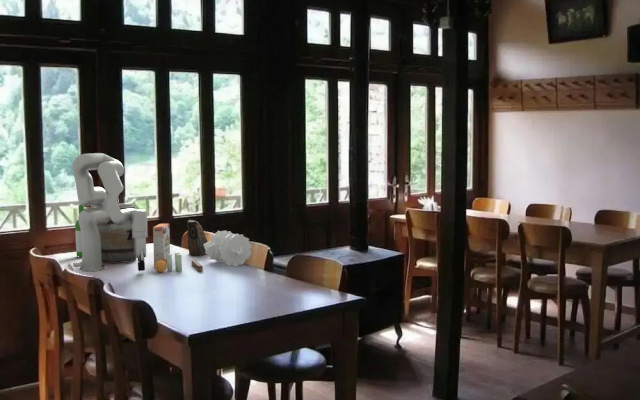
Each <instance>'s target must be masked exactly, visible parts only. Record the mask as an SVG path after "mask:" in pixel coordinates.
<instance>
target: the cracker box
mask: <svg viewBox="0 0 640 400" xmlns="http://www.w3.org/2000/svg"><path fill="white" fill-rule="evenodd" d="M170 231H171V230H170V223H159V224H157V225H155V226H152V237H153V240H152V241H153V265H154V267H155V263H156V262H157V261H159V260H162V261H164V262H165V263H166V265H167V254H171V243H170V242H171V239H170V234H171V233H170Z"/></svg>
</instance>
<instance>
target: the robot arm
mask: <svg viewBox="0 0 640 400" xmlns="http://www.w3.org/2000/svg"><path fill="white" fill-rule="evenodd" d="M71 169H72V174H73V177H74V182H75V187H76V194H77V200H78V203H79V205H80V204H81V205H82V206H84V207H91V206H93V207H94V208H92V207H91V208H87V209H84V210H83V211H82V212H81V213H80V214H79V213H78V216H77V217H78V218H77V220H78V221H79V225H80V230H81V242H82V258H81V259H82V260H81V261H79V262H73V264H72V266H73V267H74V268H79V271H80V270H82V271H81V272H98V271H97V270H99V271H103V270H105V269H106V266H105V265H103V263H102V256H101V236H100V232H99V230H98V228H97V226H99V225H104V224H106V223H108V222H109V220H110V218H111V220H112V221H113V223H115V224H116V225H124V224H129V223H132V238H134V255H135V257H136V259H137V271H138V272H143V271H145V270H146V264H145V263H146V262H145V258H146V257H147V241H146V240H147V239H146V238H148V237H149V233H148V231H149V229H148V213H147V210H146V209H142V208H141V209H140V208H139V209H136V208H135V209H132V208H129V209H122V210H120V207H119V205H120V204H119V202H118V198H119V196H120V193H122V192H123V190H124V189H125V188H124V185H123V183H122V180H121V179H120V177H121V176H123V175H124V172H125V166H123V164H122V162H121V161H119V160H118V159H115V158H113V157H111V156H109V155H107V154H106V153H101V152H94V153H83V154H80V155H79V154H78V156H76V157H75V158H74V159H73V161H72V164H71ZM96 170H97V173H98V176H99V178H100V180H101V183H102V185H103V187H104V188H103V187H101V186H94V180H93V179H94V178H93V176H92V175H91V173H90V172H89V171H96ZM102 269H103V270H102Z"/></svg>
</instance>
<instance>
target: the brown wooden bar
mask: <svg viewBox="0 0 640 400" xmlns="http://www.w3.org/2000/svg"><path fill="white" fill-rule="evenodd" d="M190 264H191V267H192V268H194V269H195V270H196V271H197V272H198V273H202V272H203V271H204V269H203V267H204V266H203V265H202V264H201V263H200V262H199V261H197V260H196V259H191V263H190Z"/></svg>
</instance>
